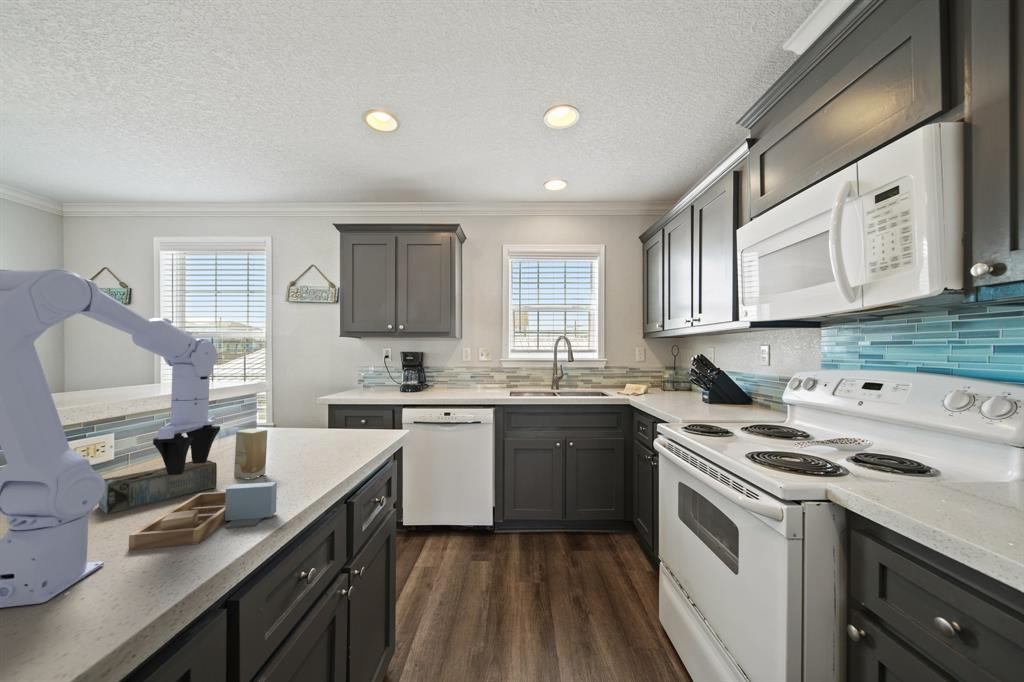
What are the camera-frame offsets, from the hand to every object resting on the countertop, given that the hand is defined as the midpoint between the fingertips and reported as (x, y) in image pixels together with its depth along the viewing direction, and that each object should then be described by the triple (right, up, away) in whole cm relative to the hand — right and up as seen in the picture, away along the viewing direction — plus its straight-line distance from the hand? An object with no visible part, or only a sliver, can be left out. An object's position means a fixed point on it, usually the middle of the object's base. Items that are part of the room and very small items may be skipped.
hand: (188, 468), depth 74 cm
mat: (+12, -10, 0) cm, 16 cm away
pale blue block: (+12, -10, 0) cm, 16 cm away
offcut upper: (+5, -8, -7) cm, 12 cm away
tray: (+3, -10, -1) cm, 10 cm away
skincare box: (-6, -11, +26) cm, 29 cm away
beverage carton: (-16, -11, +12) cm, 23 cm away
